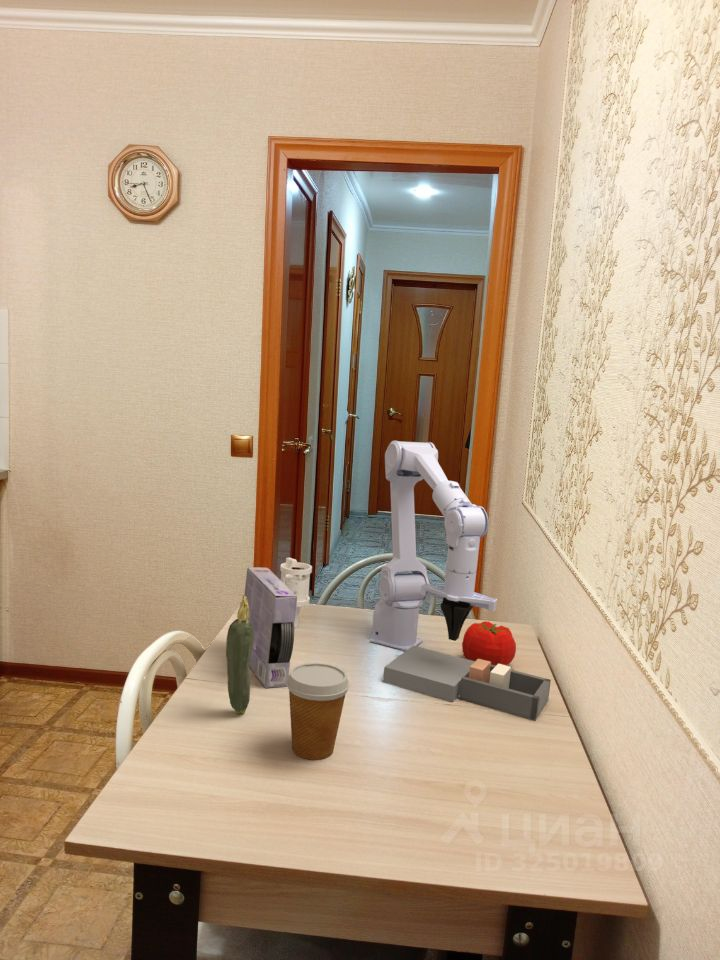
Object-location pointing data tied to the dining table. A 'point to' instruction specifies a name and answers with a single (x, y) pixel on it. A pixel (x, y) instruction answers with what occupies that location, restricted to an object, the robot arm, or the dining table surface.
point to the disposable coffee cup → (316, 708)
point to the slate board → (428, 672)
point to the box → (509, 694)
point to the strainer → (297, 583)
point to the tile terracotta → (480, 670)
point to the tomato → (489, 643)
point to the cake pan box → (270, 625)
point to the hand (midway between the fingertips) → (453, 638)
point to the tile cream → (500, 675)
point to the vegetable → (239, 658)
